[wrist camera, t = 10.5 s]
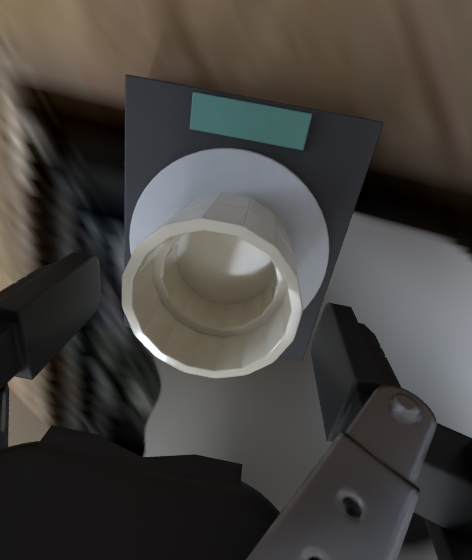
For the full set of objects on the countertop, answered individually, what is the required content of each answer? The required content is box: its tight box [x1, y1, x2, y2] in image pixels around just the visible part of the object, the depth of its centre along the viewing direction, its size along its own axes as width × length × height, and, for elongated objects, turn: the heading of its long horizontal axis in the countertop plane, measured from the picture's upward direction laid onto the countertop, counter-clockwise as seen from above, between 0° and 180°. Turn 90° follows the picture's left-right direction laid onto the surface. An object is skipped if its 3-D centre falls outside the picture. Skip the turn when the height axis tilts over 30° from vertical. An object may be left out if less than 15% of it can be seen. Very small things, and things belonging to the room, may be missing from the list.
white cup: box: [122, 192, 303, 378], centre depth 13 cm, size 6×6×5 cm
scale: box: [124, 74, 383, 361], centre depth 16 cm, size 13×11×3 cm
